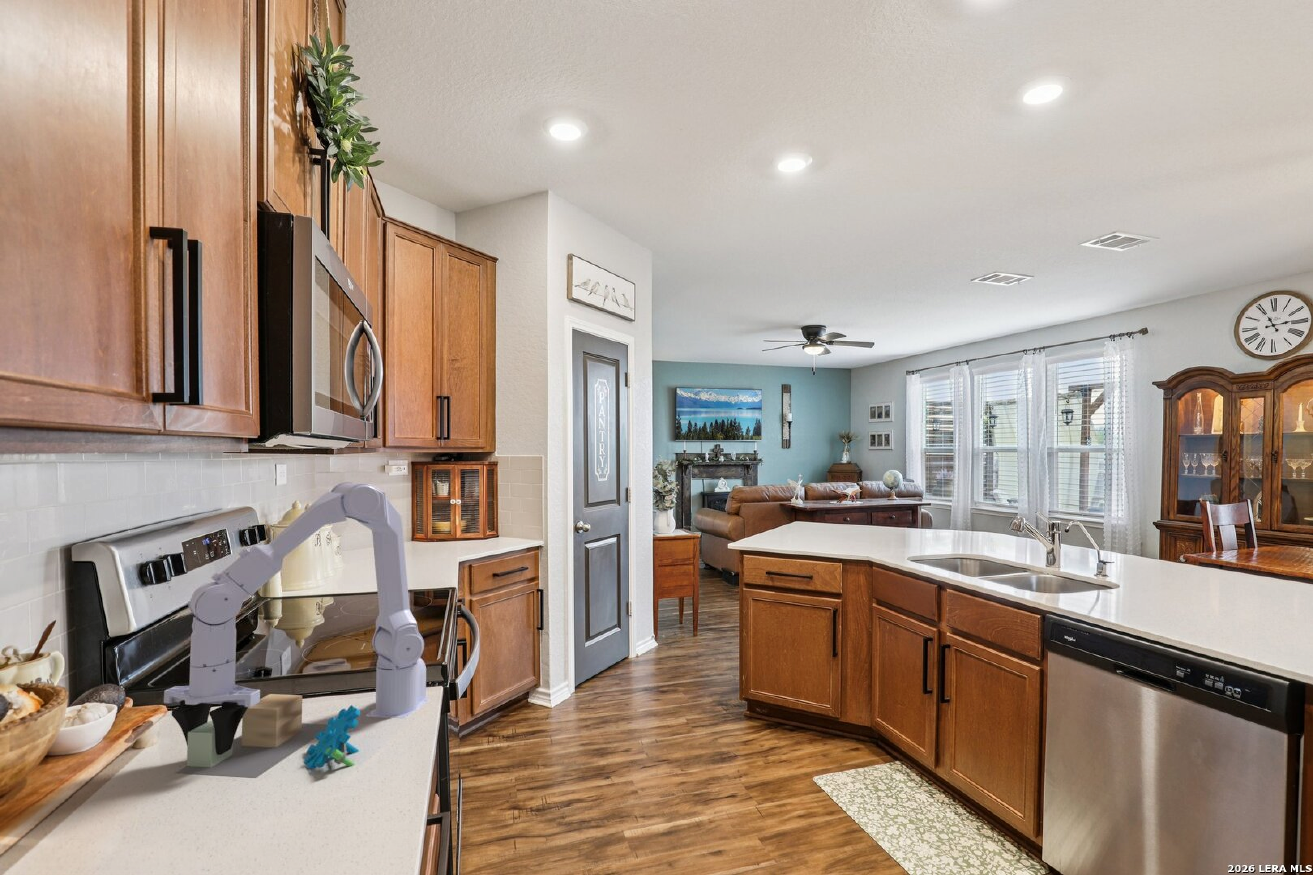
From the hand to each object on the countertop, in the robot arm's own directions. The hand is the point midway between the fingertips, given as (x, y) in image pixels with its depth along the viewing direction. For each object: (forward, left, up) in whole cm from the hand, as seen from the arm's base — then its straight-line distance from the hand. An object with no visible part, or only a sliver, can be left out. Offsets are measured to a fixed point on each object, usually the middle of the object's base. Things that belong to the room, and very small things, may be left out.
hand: (210, 750), depth 93 cm
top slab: (-8, +4, +2) cm, 9 cm away
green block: (0, 0, -1) cm, 1 cm away
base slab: (-8, +4, -1) cm, 9 cm away
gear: (-2, +18, -2) cm, 19 cm away
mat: (-5, +4, -2) cm, 7 cm away
